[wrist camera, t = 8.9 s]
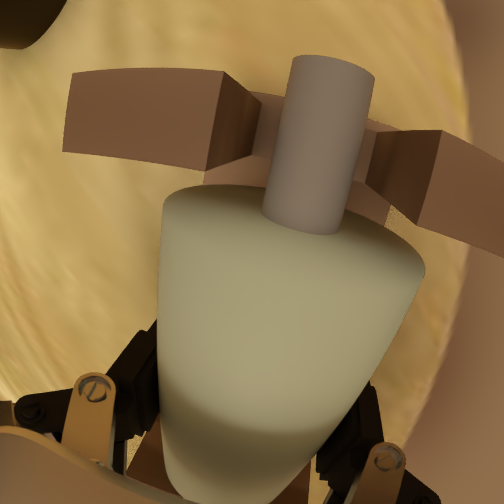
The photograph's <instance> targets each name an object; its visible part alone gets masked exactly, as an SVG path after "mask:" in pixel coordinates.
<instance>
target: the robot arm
mask: <svg viewBox="0 0 504 504" xmlns="http://www.w3.org/2000/svg"><path fill="white" fill-rule="evenodd" d="M159 412H160V407H159V390H158V364H157V319H156V320H155V322H154V323H153V324H152V326H151V327H150V328H149V330H148V331H144V330H140V331H138V332H137V334H136V335H135V336H134V337H133V339H132V340H131V341H130V343H129V344H128V345H127V347H126V348H125V349H124V350H123V352H122V353H121V354H120V356H119V357H118V358H117V360H116V361H115V362H114V364H113V365H112V366H111V367H110V369H109V370H108V371H107V373H106V374H102V373H98V372H91V373H87V374H84V375H82V376H80V377H79V378H78V379H77V380H76V382H75V384H74V388H71V389H65V390H59V391H52V392H45V393H37V394H29V395H25V396H23V397H21V398H20V399H19V400H18V401H17V402H16V403H12V401H0V504H200V503H196V502H193V501H189V500H186V499H183V498H180V497H177V496H173V495H171V494H168V493H165V492H162V491H159V490H156V489H154V488H151V487H149V486H146V485H144V484H141V483H139V482H136V481H134V480H132V479H129V478H127V477H126V463H127V440H128V439H132V438H133V437H134V435H135V434H136V435H138V436H141V437H142V436H143V434H144V432H145V431H147V432H149V431H150V430H151V428H152V426H153V424H154V422H155V420H156V418H157V416H158V414H159ZM405 465H406V458H405V454H404V452H403V451H402V449H401V448H399V447H398V446H397V445H395V444H393V443H389V442H384V436H383V430H382V423H381V417H380V411H379V405H378V399H377V394H376V390H375V387H374V386H370V380H369V381H368V383H367V384H366V386H365V387H364V389H363V390H362V392H361V393H360V395H359V396H358V398H357V399H356V401H355V402H354V404H353V405H352V407H351V408H350V410H349V411H348V412H347V414H346V415H345V417H344V418H343V419H342V421H341V422H340V423H339V425H338V426H337V427H336V429H335V430H334V431H333V433H332V434H331V435H330V437H329V438H328V439H327V440H326V442H325V443H324V444H323V445H322V447H321V448H320V449H319V450H318V452H317V455H316V472H317V473H320V479H319V480H326V481H328V486H329V487H330V490H329V492H328V494H327V496H326V498H325V500H324V502H323V504H441V500H440V499H439V496H438V495H437V494H436V493H435V492H434V491H432V490H431V489H430V488H428V487H427V486H426V485H425V484H423V483H422V482H421V481H420V480H418V479H417V478H416V477H414V476H413V475H412V474H411V473H410V472H408V471H407V470H406V469H405Z"/></svg>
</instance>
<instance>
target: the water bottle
mask: <svg viewBox="0 0 504 504" xmlns="http://www.w3.org/2000/svg"><path fill="white" fill-rule="evenodd" d="M65 2H66V0H0V48H6V49H24V48H26V47H28V46H30V45H31V44H33V43H34V42H35V41H37V40H38V39H39V38H40V37H41V36H42V35H43V34H44V33H45V32H46V30H47V29H48V28H49V27H50V25H51V24H52V23H53V21H54V20H55V19H56V17H57V16H58V14H59V13H60V11H61V9H62V8H63V6H64V4H65Z"/></svg>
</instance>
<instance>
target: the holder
mask: <svg viewBox="0 0 504 504" xmlns="http://www.w3.org/2000/svg"><path fill="white" fill-rule="evenodd" d="M284 99H285V97H281V96H276V95H270V94H265V93H259V92H252V91H247V90H246V89H245V88H244V87H243V86H241V85H240V84H239V83H238V82H237V81H235V80H234V79H233V78H232V77H230V76H229V75H228V74H227V73H225V72H224V71H215V70H203V69H186V68H125V69H108V70H96V71H86V72H78V73H73V74H72V79H71V84H70V90H69V96H68V103H67V110H66V118H65V127H64V137H63V150H62V152H71V153H81V154H91V155H100V156H108V157H116V158H124V159H131V160H138V161H145V162H152V163H158V164H164V165H170V166H176V167H182V168H188V169H194V170H199V171H205V175H204V182H203V185H213V184H231V185H246V186H255V187H263V188H266V185H267V180H268V176H269V171H270V166H271V161H272V157H273V152H274V147H275V142H276V138H277V133H278V128H279V123H280V119H281V114H282V109H283V104H284ZM390 205H393V206H394V207H395V208H396V209H397V210H399V211H400V212H401V213H402V214H403V215H405V216H406V217H407V218H408V219H409V220H411V221H412V222H413V223H414V224H415V225H416V226H419V227H422V228H425V229H428V230H431V231H434V232H437V233H440V234H443V235H445V236H448V237H451V238H454V239H457V240H459V241H462V242H465V243H467V244H470V245H473V246H475V247H478V248H481V249H483V250H486V251H488V252H491V253H493V254H496V255H498V256H501V257H503V258H504V163H503V162H501V161H500V160H498V159H496V158H495V157H493V156H491V155H489V154H488V153H486V152H484V151H482V150H480V149H479V148H477V147H475V146H473V145H471V144H469V143H467V142H465V141H464V140H462V139H460V138H458V137H456V136H453V135H451V134H449V133H447V132H445V131H443V130H410V131H402V130H399V129H396V128H394V127H391V126H388V125H385V124H382V123H379V122H376V121H373V120H370V119H367V121H366V126H365V130H364V135H363V139H362V144H361V148H360V152H359V156H358V160H357V164H356V168H355V172H354V176H353V180H352V184H351V188H350V192H349V195H348V199H347V203H346V206H345V209H347V210H350V211H352V212H355V213H357V214H359V215H362V216H364V217H366V218H368V219H370V220H372V221H374V222H376V223H378V224H380V225H382V226H384V225H385V221H386V218H387V215H388V212H389V209H390ZM310 468H311V460H310V461H309V462H308V464H307V465H306V466H305V467H304V468H303V469H302V470H301V471H300V473H299V474H298V475H297V476H296V477H295V478H294V479H293V480H292V481H291V482H290V484H289V485H288V486H287V487H286V488H285V489H284V490H283V491H282V492H281V493H280V494H279V495H278V496H277V497H276V498H275V499H274V500H273V501H272V502H270V503H269V504H308V494H309V482H310ZM126 477H127V478H129V479H132V480H134V481H136V482H139V483H141V484H144V485H146V486H149V487H151V488H154V489H156V490H159V491H162V492H165V493H168V494H171V495H173V496H177V497H180V498H183V497H182V496H181V495H180V494H179V493H178V492H177V491H176V489H175V488H174V487H173V485H172V484H171V482H170V480H169V478H168V475H167V472H166V468H165V462H164V453H163V444H162V433H161V421H160V412H159V414H158V416H157V418H156V420H155V422H154V424H153V426H152V428H151V430H150V431H149V432H146V434H145V436H144V438H143V440H142V442H141V444H140V446H139V448H138V449H137V451H136V453H135V455H134V457H133V459H132V461H131V463H130V465H129V467H128V469H127V471H126Z"/></svg>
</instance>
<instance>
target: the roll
mask: <svg viewBox="0 0 504 504" xmlns="http://www.w3.org/2000/svg"><path fill="white" fill-rule="evenodd" d="M374 81H375V78H374V76H373V75H372V74H371V73H369V72H368V71H366V70H365V69H363V68H361V67H359V66H357V65H354V64H352V63H349V62H346V61H343V60H340V59H336V58H331V57H326V56H318V55H301V56H297V57H295V58H293V61H292V66H291V71H290V76H289V80H288V85H287V90H286V95H285V99H284V104H283V109H282V114H281V119H280V123H279V128H278V133H277V138H276V142H275V147H274V152H273V157H272V161H271V166H270V171H269V176H268V180H267V185H266V188H263V187H255V186H246V185H231V184H213V185H200V186H193V187H188V188H184V189H181V190H179V191H176V192H174V193H172V194H171V195H169V196H168V197H167V198H166V199H165V202H164V204H163V213H162V225H161V238H160V252H159V270H158V297H157V364H158V390H159V407H160V421H161V433H162V444H163V453H164V462H165V468H166V472H167V475H168V478H169V480H170V482H171V484H172V485H173V487H174V488H175V489H176V491H177V492H178V493H179V494H180V495H181V496H182V497H183V498H185V499H186V500H189V501H193V502H196V503H200V504H269V503H270V502H272V501H273V500H274V499H275V498H276V497H277V496H278V495H279V494H280V493H281V492H282V491H283V490H284V489H285V488H286V487H287V486H288V485H289V484H290V482H291V481H292V480H293V479H294V478H295V477H296V476H297V475H298V474H299V473H300V471H301V470H302V469H303V468H304V467H305V466H306V465H307V464H308V462H309V461H310V460H311V459H312V458H313V456H314V455H315V454H316V453H317V452H318V450H319V449H320V448H321V447H322V445H323V444H324V443H325V442H326V440H327V439H328V438H329V437H330V435H331V434H332V433H333V431H334V430H335V429H336V427H337V426H338V425H339V423H340V422H341V421H342V419H343V418H344V417H345V415H346V414H347V412H348V411H349V410H350V408H351V407H352V405H353V404H354V402H355V401H356V399H357V398H358V396H359V395H360V393H361V392H362V390H363V389H364V387H365V386H366V384H367V383H368V381H369V379H370V378H371V376H372V375H373V373H374V371H375V370H376V368H377V366H378V365H379V363H380V361H381V360H382V358H383V356H384V355H385V353H386V351H387V349H388V348H389V346H390V344H391V342H392V340H393V339H394V337H395V335H396V333H397V331H398V329H399V327H400V325H401V323H402V321H403V319H404V318H405V316H406V314H407V311H408V309H409V307H410V305H411V303H412V301H413V299H414V297H415V295H416V293H417V290H418V288H419V286H420V284H421V281H422V279H423V277H424V274H425V265H424V262H423V260H422V258H421V256H420V255H419V254H418V253H417V251H416V250H415V249H414V248H413V247H412V246H411V245H410V244H409V243H407V242H406V241H405V240H404V239H402V238H401V237H400V236H398V235H397V234H395V233H394V232H392V231H390V230H389V229H387V228H386V227H384V226H382V225H380V224H378V223H376V222H374V221H372V220H370V219H368V218H366V217H364V216H362V215H359V214H357V213H355V212H352V211H350V210H347V209H345V206H346V203H347V199H348V195H349V192H350V188H351V184H352V180H353V176H354V172H355V168H356V164H357V160H358V156H359V152H360V148H361V144H362V139H363V135H364V130H365V126H366V121H367V117H368V112H369V107H370V102H371V97H372V92H373V86H374Z"/></svg>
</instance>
